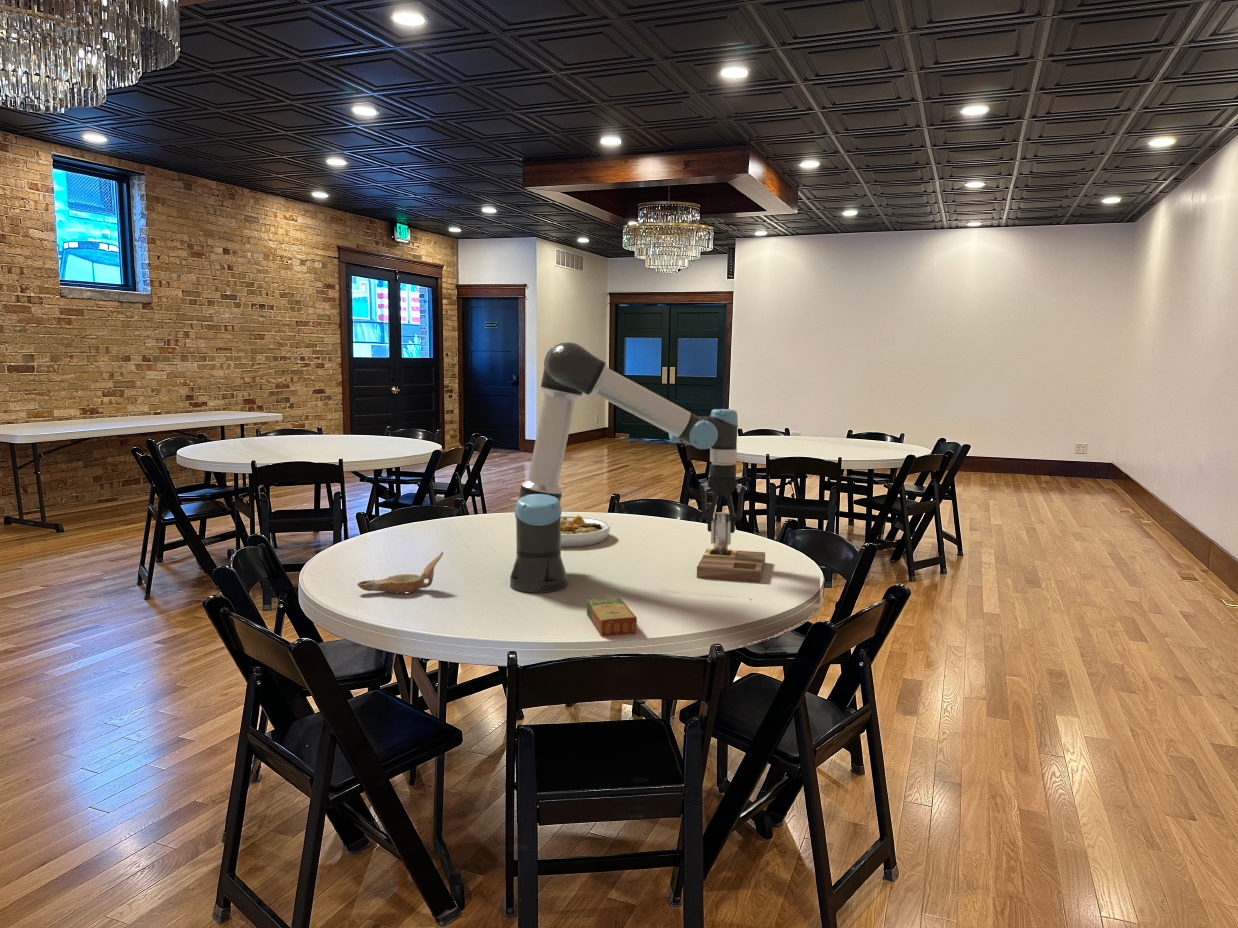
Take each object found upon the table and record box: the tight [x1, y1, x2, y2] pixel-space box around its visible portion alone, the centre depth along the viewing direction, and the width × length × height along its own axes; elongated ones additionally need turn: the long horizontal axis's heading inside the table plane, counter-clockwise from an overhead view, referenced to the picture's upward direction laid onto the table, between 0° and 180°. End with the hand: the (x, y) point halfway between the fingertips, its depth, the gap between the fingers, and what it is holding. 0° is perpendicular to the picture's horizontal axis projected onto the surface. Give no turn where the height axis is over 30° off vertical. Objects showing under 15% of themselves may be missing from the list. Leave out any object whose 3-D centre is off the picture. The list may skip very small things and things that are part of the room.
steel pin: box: [713, 511, 730, 555], centre depth 232 cm, size 4×4×14 cm
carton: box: [586, 596, 638, 637], centre depth 182 cm, size 8×16×4 cm, turn 14°
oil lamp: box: [356, 551, 444, 594], centre depth 205 cm, size 9×21×10 cm, turn 104°
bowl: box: [561, 515, 611, 548], centre depth 268 cm, size 30×30×8 cm
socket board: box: [696, 547, 766, 583], centre depth 226 cm, size 22×17×4 cm
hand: (720, 543), depth 232 cm, fingers closed on steel pin, 4 cm apart
